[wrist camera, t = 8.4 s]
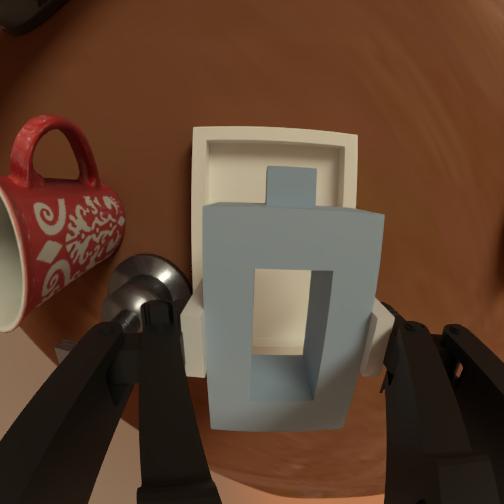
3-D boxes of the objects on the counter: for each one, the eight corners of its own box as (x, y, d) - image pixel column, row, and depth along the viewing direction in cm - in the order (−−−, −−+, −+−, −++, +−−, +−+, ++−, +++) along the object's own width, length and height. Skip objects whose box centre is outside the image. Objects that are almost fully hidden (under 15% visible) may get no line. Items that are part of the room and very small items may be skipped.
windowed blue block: (327, 382, 15) (342, 428, 11) (220, 381, 16) (211, 428, 12) (352, 175, 13) (386, 170, 9) (219, 168, 13) (203, 159, 9)
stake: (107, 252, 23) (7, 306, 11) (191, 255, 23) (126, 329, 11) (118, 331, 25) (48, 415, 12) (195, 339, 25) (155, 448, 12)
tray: (199, 132, 21) (193, 127, 19) (348, 139, 21) (357, 135, 19) (201, 340, 25) (196, 353, 23) (330, 342, 25) (336, 355, 23)
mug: (115, 288, 24) (20, 363, 11) (48, 242, 23) (-53, 279, 10) (171, 159, 21) (70, 131, 8) (92, 122, 21) (-18, 89, 8)
